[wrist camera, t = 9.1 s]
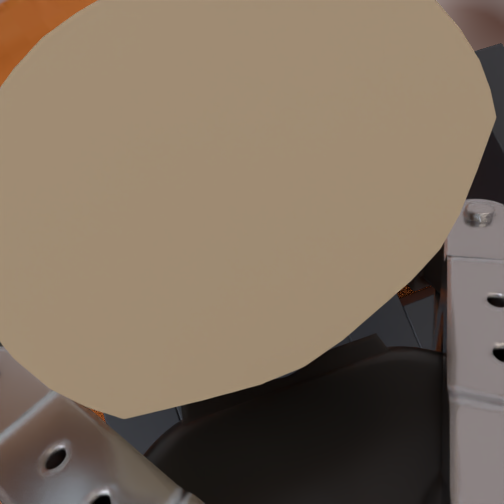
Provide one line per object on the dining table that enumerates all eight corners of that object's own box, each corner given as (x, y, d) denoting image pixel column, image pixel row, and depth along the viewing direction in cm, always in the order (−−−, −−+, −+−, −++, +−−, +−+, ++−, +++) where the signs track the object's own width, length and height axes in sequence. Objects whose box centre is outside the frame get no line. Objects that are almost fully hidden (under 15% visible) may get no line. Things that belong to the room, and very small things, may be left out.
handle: (310, 282, 19) (573, 140, 5) (207, 367, 18) (126, 528, 4) (250, 209, 20) (313, -127, 5) (147, 286, 19) (-142, 140, 4)
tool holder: (453, 93, 22) (502, 42, 18) (552, 293, 20) (631, 284, 16) (76, 212, 19) (37, 182, 15) (148, 455, 17) (124, 492, 13)
